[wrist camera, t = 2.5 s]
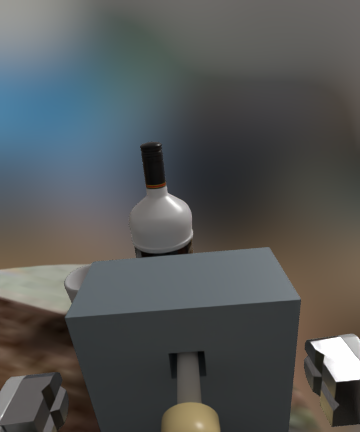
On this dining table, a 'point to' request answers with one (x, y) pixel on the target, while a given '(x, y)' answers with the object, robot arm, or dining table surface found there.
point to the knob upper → (189, 401)
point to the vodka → (159, 213)
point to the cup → (75, 281)
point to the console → (188, 337)
